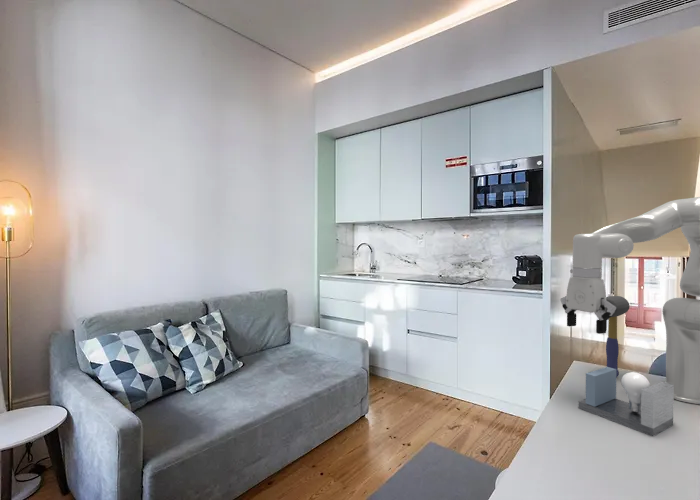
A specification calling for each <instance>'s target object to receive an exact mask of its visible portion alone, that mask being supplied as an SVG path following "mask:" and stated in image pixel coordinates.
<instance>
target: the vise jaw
mask: <svg viewBox="0 0 700 500" xmlns="http://www.w3.org/2000/svg"><path fill="white" fill-rule="evenodd" d="M585 399H586V404H589V405H591V406H594V407H596V406H598V405H600V404H603V403H605V402H608V401H610V400H613V399H617V378H616V369H614V368H610V367H607V366H606V367H602V368H599V369H596V370H592V371H588V372H586V373H585Z"/></svg>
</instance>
